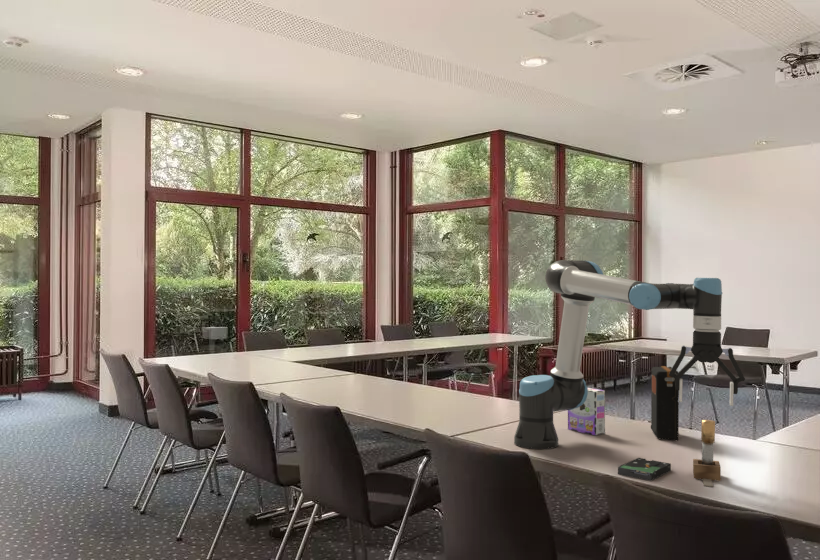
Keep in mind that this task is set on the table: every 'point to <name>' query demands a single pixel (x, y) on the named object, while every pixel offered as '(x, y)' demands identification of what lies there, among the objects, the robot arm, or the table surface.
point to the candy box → (589, 414)
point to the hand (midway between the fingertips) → (705, 403)
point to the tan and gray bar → (707, 441)
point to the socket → (706, 470)
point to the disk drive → (644, 469)
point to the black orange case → (664, 404)
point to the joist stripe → (707, 482)
